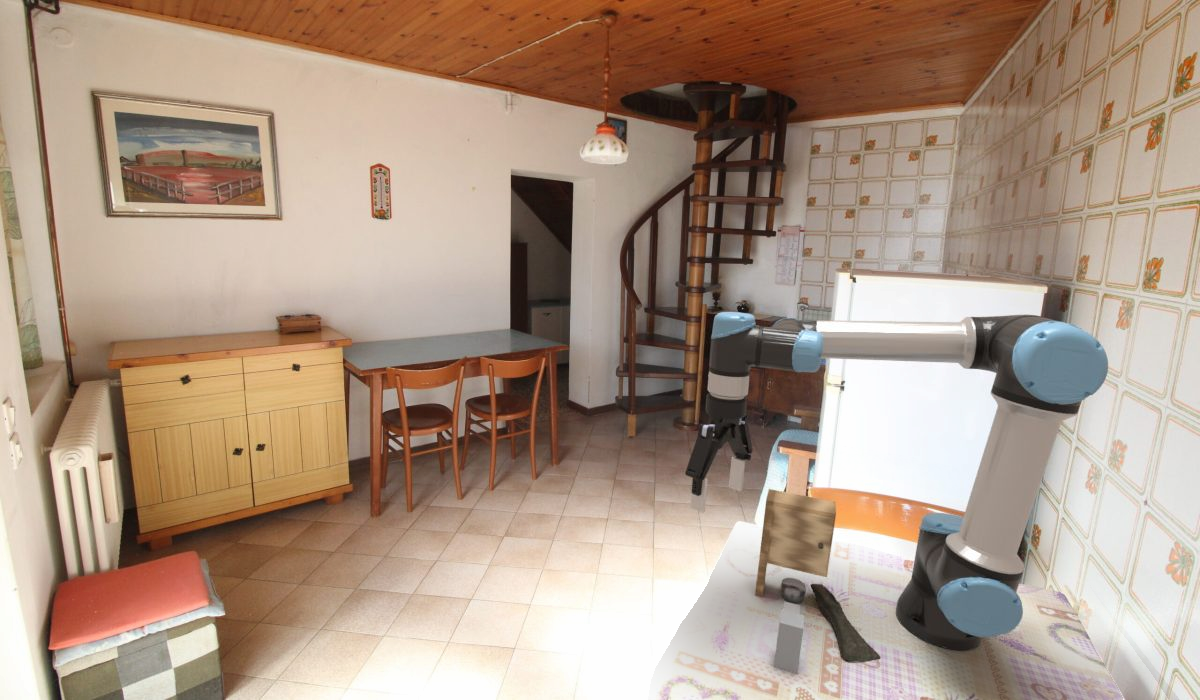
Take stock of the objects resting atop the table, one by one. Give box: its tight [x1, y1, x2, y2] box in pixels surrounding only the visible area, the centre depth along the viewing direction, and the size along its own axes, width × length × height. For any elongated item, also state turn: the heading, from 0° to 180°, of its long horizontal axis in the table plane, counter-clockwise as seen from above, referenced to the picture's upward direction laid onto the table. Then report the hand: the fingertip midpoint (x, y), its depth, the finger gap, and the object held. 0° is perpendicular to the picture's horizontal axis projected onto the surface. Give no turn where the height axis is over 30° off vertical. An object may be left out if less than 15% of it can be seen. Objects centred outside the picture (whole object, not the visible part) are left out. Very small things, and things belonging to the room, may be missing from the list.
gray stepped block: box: [773, 601, 805, 675], centre depth 109 cm, size 4×17×9 cm, turn 159°
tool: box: [810, 583, 881, 664], centre depth 115 cm, size 21×8×3 cm, turn 6°
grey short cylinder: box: [779, 577, 807, 605], centre depth 124 cm, size 5×5×3 cm
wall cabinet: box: [754, 488, 837, 598], centre depth 122 cm, size 14×7×22 cm, turn 69°
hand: (717, 499), depth 113 cm, fingers open, 13 cm apart
